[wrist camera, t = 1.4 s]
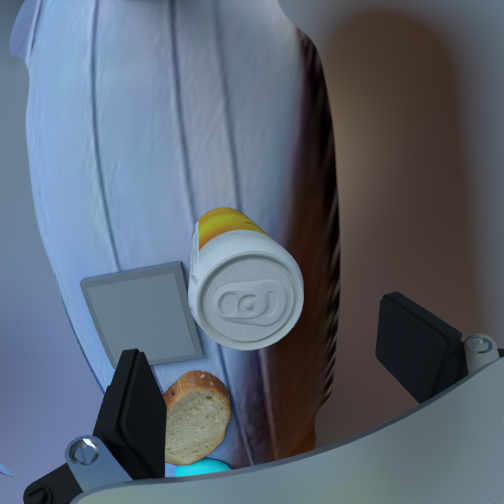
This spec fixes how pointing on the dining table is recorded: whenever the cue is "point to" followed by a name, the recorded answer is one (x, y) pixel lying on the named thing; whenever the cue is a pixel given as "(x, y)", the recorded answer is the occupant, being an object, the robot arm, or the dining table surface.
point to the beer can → (242, 282)
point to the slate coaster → (144, 313)
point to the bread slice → (195, 417)
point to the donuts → (201, 468)
